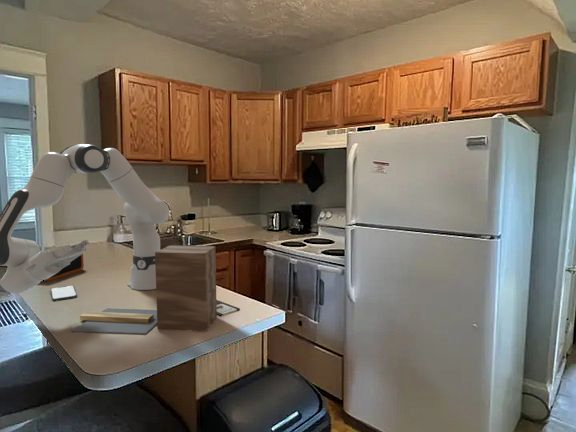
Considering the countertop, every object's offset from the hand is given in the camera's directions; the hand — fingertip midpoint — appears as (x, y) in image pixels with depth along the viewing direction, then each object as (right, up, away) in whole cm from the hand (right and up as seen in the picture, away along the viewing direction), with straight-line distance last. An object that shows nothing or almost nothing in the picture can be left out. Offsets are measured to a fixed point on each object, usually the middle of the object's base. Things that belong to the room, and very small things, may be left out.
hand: (78, 244), depth 126 cm
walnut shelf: (+37, -26, 0) cm, 45 cm away
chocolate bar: (+42, -25, +16) cm, 52 cm away
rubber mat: (+15, -26, +2) cm, 30 cm away
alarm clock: (-43, -20, +60) cm, 77 cm away
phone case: (-23, -23, +30) cm, 44 cm away
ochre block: (+12, -26, +2) cm, 28 cm away
